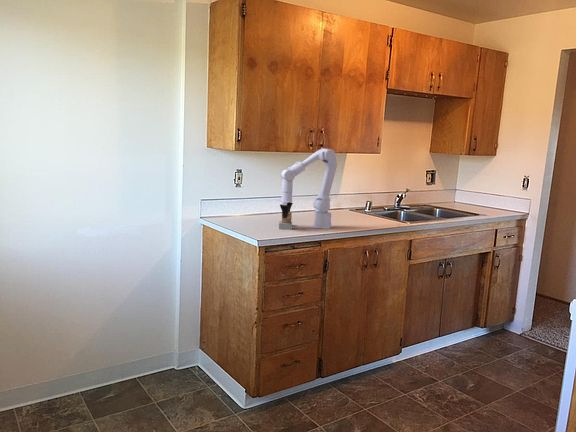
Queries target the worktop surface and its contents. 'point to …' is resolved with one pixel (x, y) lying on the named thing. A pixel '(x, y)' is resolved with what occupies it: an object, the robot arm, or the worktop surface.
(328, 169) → the robot arm
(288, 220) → the walnut block
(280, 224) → the slate base block
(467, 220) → the worktop surface
